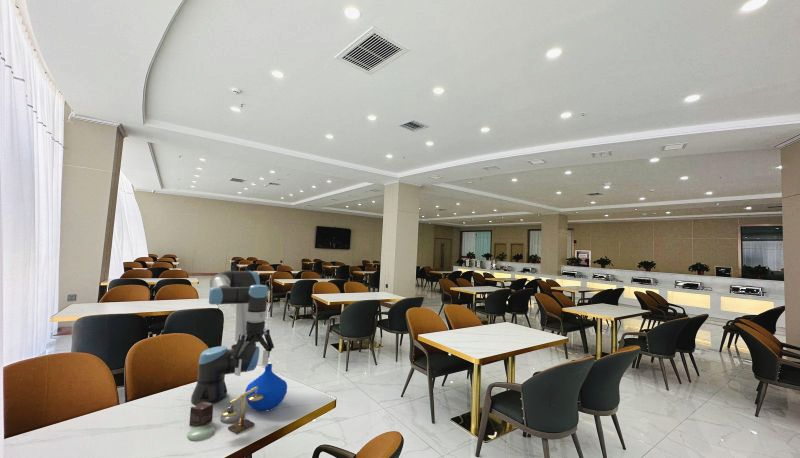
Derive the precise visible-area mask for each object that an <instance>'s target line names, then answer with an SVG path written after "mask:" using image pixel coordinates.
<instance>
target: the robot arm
mask: <svg viewBox="0 0 800 458" xmlns="http://www.w3.org/2000/svg"><path fill="white" fill-rule="evenodd" d="M260 281H261V280H260V275H259V273H258V271H255V270H253V271H252V270H225V271H221V272H219V273H216V274H214V275H213V276H212V277H211V279H210V281H209V288H210V289H209V292H208V293H209V294H208V304H210V305H215V306H217V305H218V306H219V305H236V307H235V308H236V309H235V333H234V342H233V343H232V344H231V347H230V349H228V347H227V346H224V345H223V346H222V345H219V346H214V347H210V348H207V349H205V350H203V351H202V352H201V353H200V355H199V360H198V369H197V371H198V372H197V379H196V380H197V381H196V384H195V387H194V389H193V392H192V394H191V397H190V398H191V400H190V402H191V403H192V404H194V405H196V404H199V403H201V402H203V401H204V402H208V403H212V404H217V403H220V402H222V401H224V400H225V399H227V397H228V388H227V384H226V381H225V378H226V376H225V375H231V374H232V375H233V374H234V375H235V376H238V377H240V376H241V373H247V372H252V371H254V370H256V368H257V366H258V362H259V359H260V347H259V346H257V343H260V345H261V346H262V348H263V349H264V350H263V352H262V364H261V365H262V366H264V367H265V366H268V364H269V358H270V354H271V353H270V352H272V350H273V349H274V348H275V344H274V342H273V339H272V337H271V333H270V331H271V330H270V329H268V328H265V327H266V321H265V320H266V316H267V315H266V314H267V303H268V301H267V300H268V295H269V292H268V291H269V290H268V289H269V288H268V285H265V284H261V282H260ZM263 336H264V337H263ZM223 399H224V400H223Z"/></svg>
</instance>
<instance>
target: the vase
mask: <svg viewBox="0 0 800 458" xmlns="http://www.w3.org/2000/svg"><path fill="white" fill-rule="evenodd" d="M272 367H273V364H272V363H268V366H264V371H263V373H262V374H261V375H259V376H258V377H256V378H255V379H254V380H253V381H251V382H250V383H248V384H247V386H246V388H245V391H244V393H245V392H247V391H249V390H250V389H252V388H254V387H256V386H257V387H258V389H257V393H256V390H254V391H253V392H251V393H249V394H248V395H246V402H247V404H248V405H249V407H250V408H252V410H255V411H256V412H268V411H267V410H269V411H272V410H274V409H275V408H277V407H278V406H280V404H281V403H282V402H283V401H284V399H285V397H286V395H287V392H288V384H287V381H286V380H284V379H282V378H281V377H279V376H278V375H277V374H275V373H274V372H273V369H272ZM255 393H256V394H262V395H263V399H261V400H259V401H249V400H248V397H249V396H250V395H253V394H255ZM273 408H274V409H273ZM271 409H272V410H271Z"/></svg>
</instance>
